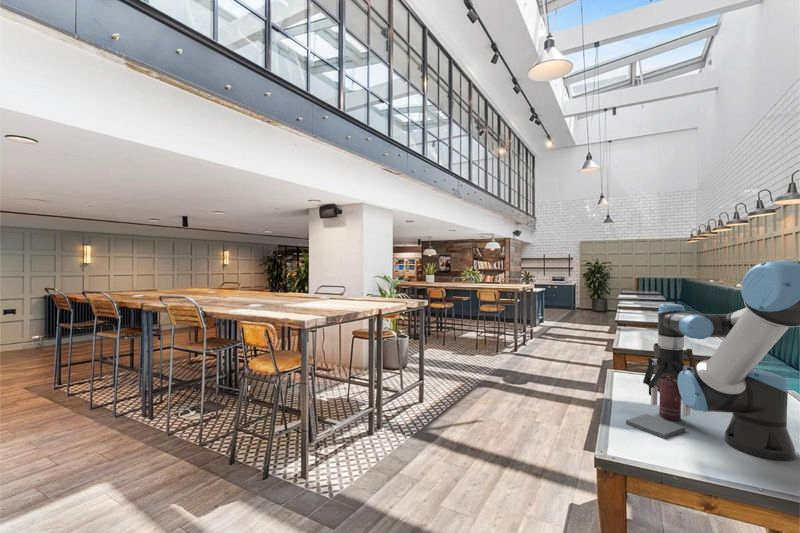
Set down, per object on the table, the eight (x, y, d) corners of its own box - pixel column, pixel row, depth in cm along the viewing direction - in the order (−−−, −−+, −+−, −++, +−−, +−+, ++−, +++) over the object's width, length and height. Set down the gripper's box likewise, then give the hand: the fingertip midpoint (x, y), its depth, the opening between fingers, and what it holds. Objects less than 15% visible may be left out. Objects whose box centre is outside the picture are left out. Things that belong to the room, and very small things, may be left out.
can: (673, 414, 135) (673, 375, 135) (684, 421, 129) (685, 381, 129) (655, 413, 136) (655, 375, 136) (666, 420, 130) (666, 380, 130)
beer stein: (663, 395, 154) (664, 347, 154) (647, 386, 165) (647, 341, 165) (701, 396, 154) (702, 348, 153) (683, 387, 164) (683, 342, 164)
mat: (684, 430, 122) (684, 427, 122) (664, 438, 117) (664, 434, 117) (646, 417, 133) (646, 413, 133) (625, 423, 127) (626, 420, 127)
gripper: (714, 353, 124) (712, 419, 124) (644, 340, 144) (643, 397, 144) (702, 355, 121) (701, 424, 121) (632, 342, 140) (631, 401, 141)
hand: (669, 410), depth 133 cm, fingers open, 10 cm apart
